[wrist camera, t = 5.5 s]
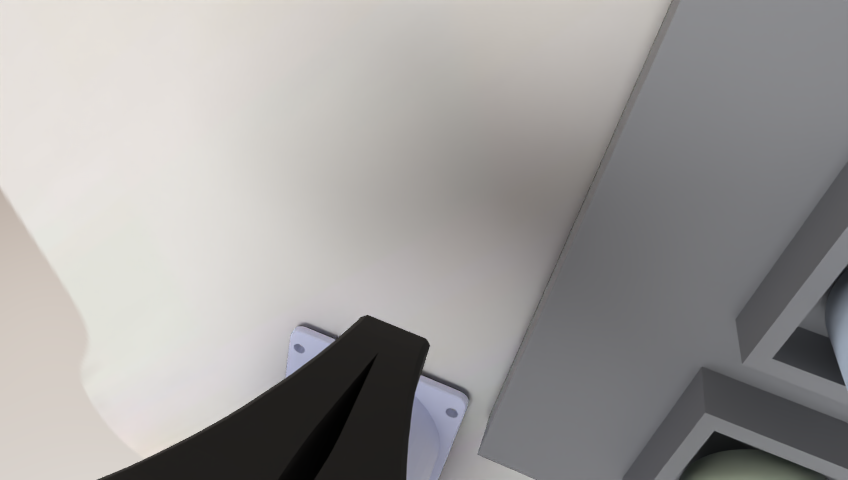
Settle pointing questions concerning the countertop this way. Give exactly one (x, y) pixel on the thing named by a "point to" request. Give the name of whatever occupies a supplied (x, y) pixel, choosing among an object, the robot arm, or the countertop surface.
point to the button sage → (747, 467)
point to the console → (699, 262)
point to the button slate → (839, 322)
